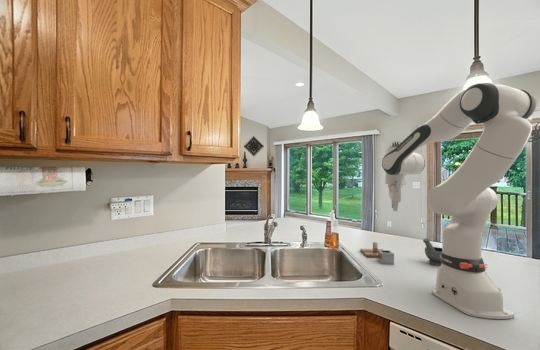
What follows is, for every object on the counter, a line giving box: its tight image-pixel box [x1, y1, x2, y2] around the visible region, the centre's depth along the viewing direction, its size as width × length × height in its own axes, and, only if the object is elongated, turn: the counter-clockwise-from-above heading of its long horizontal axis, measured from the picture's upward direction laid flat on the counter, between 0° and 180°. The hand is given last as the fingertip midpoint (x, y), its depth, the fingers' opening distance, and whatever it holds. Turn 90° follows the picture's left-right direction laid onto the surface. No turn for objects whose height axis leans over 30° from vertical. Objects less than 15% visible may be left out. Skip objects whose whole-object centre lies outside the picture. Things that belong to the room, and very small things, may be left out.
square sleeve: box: [377, 249, 395, 265], centre depth 127 cm, size 6×6×5 cm
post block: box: [359, 241, 384, 259], centre depth 139 cm, size 12×12×6 cm
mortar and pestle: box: [422, 237, 442, 267], centre depth 125 cm, size 11×9×12 cm
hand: (394, 209), depth 126 cm, fingers open, 8 cm apart
